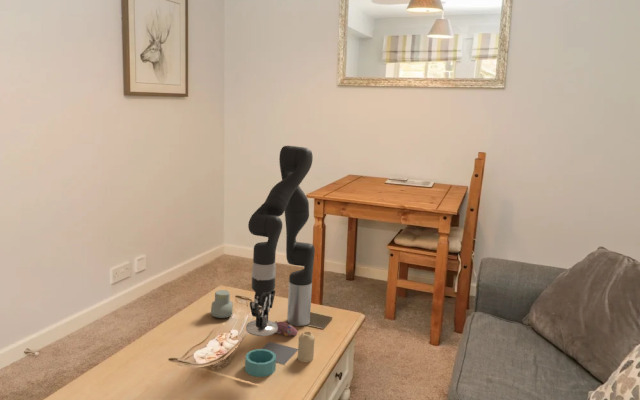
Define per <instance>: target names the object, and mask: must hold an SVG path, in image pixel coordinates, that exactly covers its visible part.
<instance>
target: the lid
mask: <svg viewBox="0 0 640 400" xmlns="http://www.w3.org/2000/svg"><path fill="white" fill-rule="evenodd" d="M277 330H278V325H277V324H276V323H275V321H272V320H270V319H268V322H267V314H265V313H263V327H261V328H259V327H256V319H255V320H250V321H249V322H247V323H246V325H245V331H246V332H247V333H248V334H250V335H253V336H257V337H268V336H272V335H274V334H275V333H276V332H277ZM276 334H277V333H276Z"/></svg>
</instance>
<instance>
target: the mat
mask: <svg viewBox="0 0 640 400" xmlns="http://www.w3.org/2000/svg"><path fill="white" fill-rule="evenodd" d="M261 349H266V350H270V351H272V352H273V353H275V354H276V364H280V365H283V366H285V365H286V364H287V363H288V361H289V360H291V358H292V357H293V356H294V355H296V353H298V348H295V347H292V346H288V345H283V344H280V343H276V342H273V341H272V342H271V341H268V342H267V343H265V345H264V346H262V347H261Z"/></svg>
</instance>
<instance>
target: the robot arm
mask: <svg viewBox="0 0 640 400" xmlns="http://www.w3.org/2000/svg"><path fill="white" fill-rule="evenodd" d="M278 160H279V161H278V162H279V168H280V170H279V171H280V174H281V181H278V182H277V183H276V184H275V185H274V186H272V188H271V189H270V191H269V194H268V195H267V197H266V199H265V201H264V202H263V203H262V204H261V205H260V206H259V207H258V208H257V209H256V210H255V211H254V212H253V213H252V214H251V216H250V218H249V221H248V226H247V227H248V231H249V232H250V234H252V235H253V236H257V237H258V236H259V237H264V238H267V241H261V242H257V243H256V244H254V246H253V256H252V257H253V259H252V267H251V269H252V270H251V289H252V291H254V300H253V301H250V302H249V308H250V312H251V316H252V317H254V318H255V320H256V327H259V328H261V327H263V313H265V314H267V322H268V320H269V312H270V309H273V305H274V301H275V295H276V290H275V288H276V253H277V251H276V250H277V246H278V242H279V240H280V237H281V233H282V230H283V221H282V219H281V218H280V217H281V216H282V215H283V214H284V220H285V228H286V237H285V238H286V240H285V241H286V246H285V247H286V248H285V249H286V250H285V251H286V252H285V257H286V261H287V263H288V264H289V265H292V266H298V267H299V266H300V267H303V269H300V270H295V271H293V272H291V273H290V274H289V278H288V298H287V316H286V317H287V319H286V320H287V321H286V323H287V324H289V325H292V326H296V327H303V326H307V325H308V324H309V325H310V322H311V307H312V286H313V272H314V262H315V255H316V249H315V246H314V244H313V243H308V242H300V241H297V236H298V234H299V233H300V231H302V229H303V228H304V226H305V225H306V224H307V222H308V221H309V217H310V204H309V199H308V197H307V195H306V194H305V192H304V190H302V188H301V187H300V184H301V183H302V181H303V180H304V179H305V178H306V177H307V175H308V173H309V172H310V170H311V168H312V165H313V160H314V159H313V152H312V150H311V149H310V148H308V147H304V146H296V145H283V146H282V147H281V149H280V152H279V159H278Z"/></svg>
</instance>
